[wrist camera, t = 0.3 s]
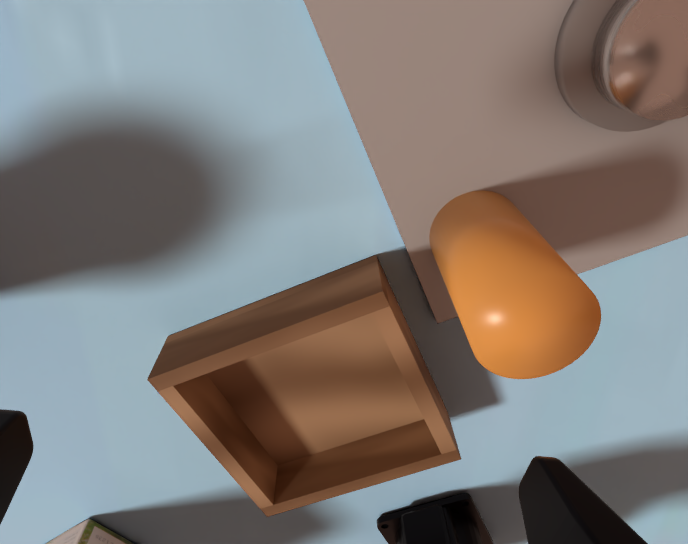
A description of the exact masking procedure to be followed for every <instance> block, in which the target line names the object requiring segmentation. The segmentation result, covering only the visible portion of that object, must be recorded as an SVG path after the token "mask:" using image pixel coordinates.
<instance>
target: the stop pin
mask: <svg viewBox="0 0 688 544" xmlns="http://www.w3.org/2000/svg"><path fill="white" fill-rule="evenodd" d="M429 241H430V247H431V250H432V253H433V255H434V258H435V260H436V262H437V265H438V267H439V270H440V272H441V275H442V277H443V280H444V282H445V285H446V287H447V289H448V292H449V294H450V297H451V299H452V302H453V304H454V307H455V309H456V311H457V314H458V316H459V319H460V321H461V324H462V326H463V329H464V331H465V334H466V336H467V338H468V341H469V343H470V346H471V348H472V351H473V353H474V355H475V357H476V359H477V360H478V361H479V363H480V364H481V365H482V366H483V367H485V368H486V369H487V370H489V371H491V372H492V373H494V374H497V375H499V376H502V377H507V378H513V379H530V378H537V377H541V376H545V375H549V374H551V373H554V372H556V371H558V370H561V369H563V368H564V367H566V366H568V365H569V364H571V363H572V362H574V361H575V360H576V359H578V358H579V357H580V356H581V355H582V354H583V353H584V352H585V351H586V350H587V349H588V348H589V346H590V345H591V343H592V342H593V340H594V339H595V337H596V335H597V332H598V330H599V326H600V322H601V310H600V306H599V302H598V300H597V298H596V296H595V295H594V294H593V292H592V291H591V290H590V289H589V288H588V287H587V285H586V284H585V283H584V282H583V281H582V280H581V279H580V278H579V277H578V275H577V274H576V273H575V272H574V271H573V270H572V269H571V268H570V267H569V265H568V264H567V263H566V262H565V261H564V260H563V259H562V258H561V257H560V255H559V254H558V253H557V252H556V251H555V250H554V249H553V248H552V247H551V245H550V244H549V243H548V242H547V241H546V240H545V239H544V238H543V237H542V235H541V234H540V233H539V232H538V231H537V230H536V229H535V228H534V227H533V225H532V224H531V223H530V222H529V221H528V220H527V219H526V218H525V217H524V215H523V214H522V213H521V212H520V211H519V210H518V209H517V208H516V207H515V205H514V204H513V203H512V202H511V201H510V200H509V199H507V198H506V197H504V196H503V195H501V194H499V193H495V192H492V191H483V190H480V191H472V192H467V193H465V194H462V195H460V196H457V197H455V198H454V199H452V200H451V201H449V202H448V203H447V204H446V205H445V206H444V207H443V208H442V209H441V210H440V211H439V212H438V214H437V215H436V217H435V218H434V221H433V223H432V225H431V229H430V234H429Z"/></svg>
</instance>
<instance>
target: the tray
mask: <svg viewBox="0 0 688 544" xmlns="http://www.w3.org/2000/svg"><path fill="white" fill-rule="evenodd" d="M147 380H148V381H149V382H150V383H151V384H152V386H153V387H154V388H155V389H156V390H157V391H158V392H159V394H160V395H161V396H162V397H163V398H164V399H165V400H166V402H167V403H168V404H169V405H170V406H171V407H172V408H173V410H174V411H175V412H176V413H177V414H178V415H179V416H180V418H181V419H182V420H183V421H184V422H185V423H186V424H187V426H188V427H189V428H190V429H191V430H192V431H193V432H194V434H195V435H196V436H197V437H198V438H199V439H200V440H201V442H202V443H203V444H204V445H205V446H206V447H207V448H208V450H209V451H210V452H211V453H212V454H213V455H214V456H215V458H216V459H217V460H218V461H219V462H220V463H221V464H222V466H223V467H224V468H225V469H226V470H227V471H228V473H229V474H230V475H231V476H232V477H233V478H234V479H235V481H236V482H237V483H238V484H239V485H240V486H241V487H242V489H243V490H244V491H245V492H246V493H247V494H248V495H249V497H250V498H251V499H252V500H253V501H254V502H255V503H256V505H257V506H258V507H259V508H260V509H261V510H262V511H263V513H264V514H265V515H266V516H267V517H268V516H272V515H275V514H278V513H282V512H285V511H289V510H292V509H295V508H299V507H302V506H305V505H309V504H312V503H315V502H319V501H322V500H326V499H329V498H332V497H336V496H339V495H342V494H346V493H349V492H352V491H356V490H359V489H363V488H366V487H369V486H373V485H376V484H379V483H383V482H386V481H390V480H393V479H396V478H400V477H403V476H406V475H410V474H413V473H416V472H420V471H423V470H427V469H430V468H433V467H437V466H440V465H443V464H447V463H450V462H453V461H457V460H460V459H461V457H460V453H459V450H458V446H457V443H456V439H455V436H454V432H453V429H452V425H451V422H450V418H449V415H448V412H447V410H446V408H445V405H444V403H443V401H442V399H441V397H440V394H439V392H438V390H437V388H436V386H435V383H434V381H433V379H432V377H431V375H430V372H429V370H428V368H427V366H426V364H425V361H424V359H423V357H422V355H421V353H420V350H419V348H418V346H417V344H416V342H415V339H414V337H413V335H412V333H411V331H410V328H409V326H408V324H407V322H406V320H405V317H404V315H403V313H402V311H401V309H400V306H399V304H398V302H397V300H396V298H395V295H394V293H393V291H392V289H391V287H390V284H389V282H388V280H387V278H386V276H385V273H384V271H383V269H382V267H381V265H380V262H379V260H378V258H377V256H376V255H374V256H372V257H369V258H367V259H364V260H362V261H359V262H356V263H354V264H351V265H349V266H346V267H344V268H341V269H338V270H336V271H333V272H331V273H328V274H326V275H323V276H321V277H318V278H315V279H313V280H310V281H308V282H305V283H303V284H300V285H298V286H295V287H292V288H290V289H287V290H285V291H282V292H280V293H277V294H275V295H272V296H269V297H267V298H264V299H262V300H259V301H257V302H254V303H252V304H249V305H246V306H244V307H241V308H239V309H236V310H234V311H231V312H229V313H226V314H223V315H221V316H218V317H216V318H213V319H211V320H208V321H206V322H203V323H200V324H198V325H195V326H193V327H190V328H188V329H185V330H183V331H180V332H177V333H175V334H172V335H170V336H168V337H167V339H166V341H165V344H164V346H163V348H162V350H161V352H160V354H159V356H158V358H157V360H156V362H155V364H154V366H153V369H152V371H151V373H150V375H149V377H148V379H147Z"/></svg>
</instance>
